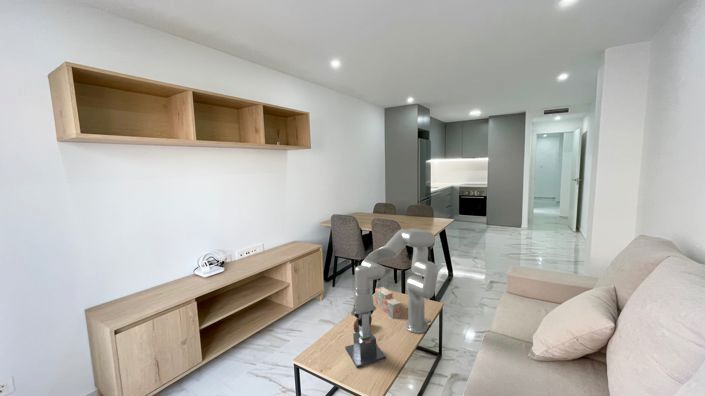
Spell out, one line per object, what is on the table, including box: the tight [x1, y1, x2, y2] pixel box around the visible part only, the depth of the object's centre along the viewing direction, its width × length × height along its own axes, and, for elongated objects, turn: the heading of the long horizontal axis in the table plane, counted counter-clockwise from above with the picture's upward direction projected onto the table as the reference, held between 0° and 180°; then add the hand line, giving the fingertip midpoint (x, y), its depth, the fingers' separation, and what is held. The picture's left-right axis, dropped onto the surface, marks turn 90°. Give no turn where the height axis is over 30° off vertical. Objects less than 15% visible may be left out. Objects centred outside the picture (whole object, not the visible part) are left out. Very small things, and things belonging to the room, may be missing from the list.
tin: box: [353, 316, 373, 333], centre depth 171 cm, size 15×3×8 cm, turn 140°
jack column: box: [359, 312, 371, 340], centre depth 148 cm, size 4×4×16 cm
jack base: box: [345, 329, 387, 369], centre depth 149 cm, size 16×16×10 cm
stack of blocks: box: [375, 286, 401, 319], centre depth 193 cm, size 21×6×12 cm, turn 26°
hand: (364, 323), depth 147 cm, fingers closed on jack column, 4 cm apart
